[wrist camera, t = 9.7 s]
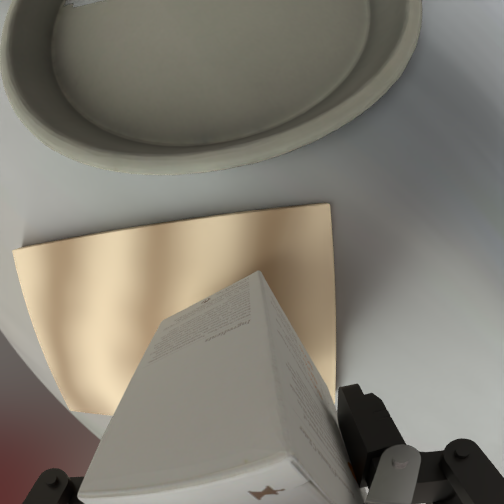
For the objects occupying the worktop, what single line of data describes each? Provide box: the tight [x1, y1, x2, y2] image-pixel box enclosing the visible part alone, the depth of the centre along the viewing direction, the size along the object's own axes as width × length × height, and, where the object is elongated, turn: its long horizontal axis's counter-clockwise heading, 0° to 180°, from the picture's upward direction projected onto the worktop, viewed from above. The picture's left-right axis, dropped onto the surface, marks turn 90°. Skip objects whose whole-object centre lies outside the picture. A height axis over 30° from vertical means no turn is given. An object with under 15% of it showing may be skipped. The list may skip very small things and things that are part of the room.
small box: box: [77, 270, 367, 504], centre depth 10 cm, size 8×6×10 cm
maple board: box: [12, 203, 336, 415], centre depth 17 cm, size 20×13×1 cm, turn 97°
